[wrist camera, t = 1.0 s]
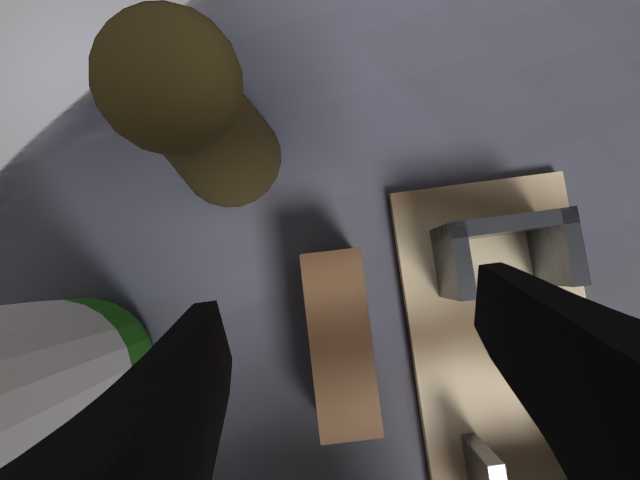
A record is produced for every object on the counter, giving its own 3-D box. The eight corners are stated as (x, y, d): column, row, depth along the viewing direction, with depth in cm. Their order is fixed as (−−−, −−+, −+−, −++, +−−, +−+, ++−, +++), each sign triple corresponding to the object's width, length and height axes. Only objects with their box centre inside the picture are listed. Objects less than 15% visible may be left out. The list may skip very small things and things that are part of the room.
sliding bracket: (548, 282, 22) (591, 284, 18) (439, 296, 22) (461, 301, 18) (537, 216, 22) (576, 205, 19) (429, 230, 22) (449, 222, 19)
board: (614, 491, 22) (622, 497, 21) (434, 514, 21) (438, 521, 21) (556, 173, 23) (562, 171, 22) (388, 195, 23) (390, 193, 22)
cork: (250, 90, 24) (186, -67, 13) (299, 175, 23) (278, 88, 12) (162, 139, 23) (20, 22, 12) (210, 226, 23) (107, 183, 12)
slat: (373, 408, 22) (384, 438, 18) (321, 414, 22) (320, 445, 18) (353, 251, 23) (360, 247, 19) (303, 257, 23) (299, 254, 19)
